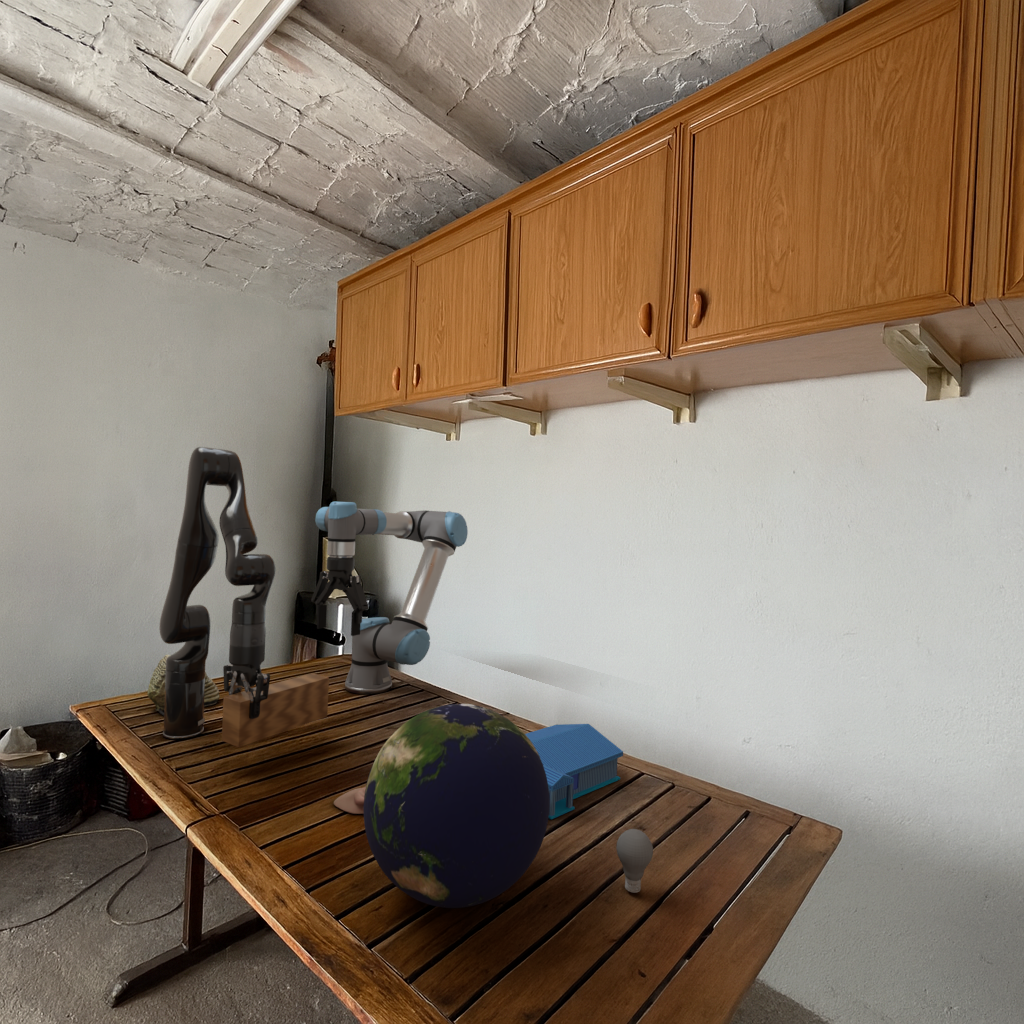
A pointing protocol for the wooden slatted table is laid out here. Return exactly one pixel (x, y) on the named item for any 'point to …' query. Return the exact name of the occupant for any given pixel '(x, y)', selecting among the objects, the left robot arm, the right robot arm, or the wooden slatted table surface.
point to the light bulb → (634, 857)
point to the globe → (456, 806)
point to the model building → (574, 762)
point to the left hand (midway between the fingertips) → (244, 714)
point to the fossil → (158, 687)
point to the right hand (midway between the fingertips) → (338, 631)
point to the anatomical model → (352, 801)
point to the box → (275, 709)
